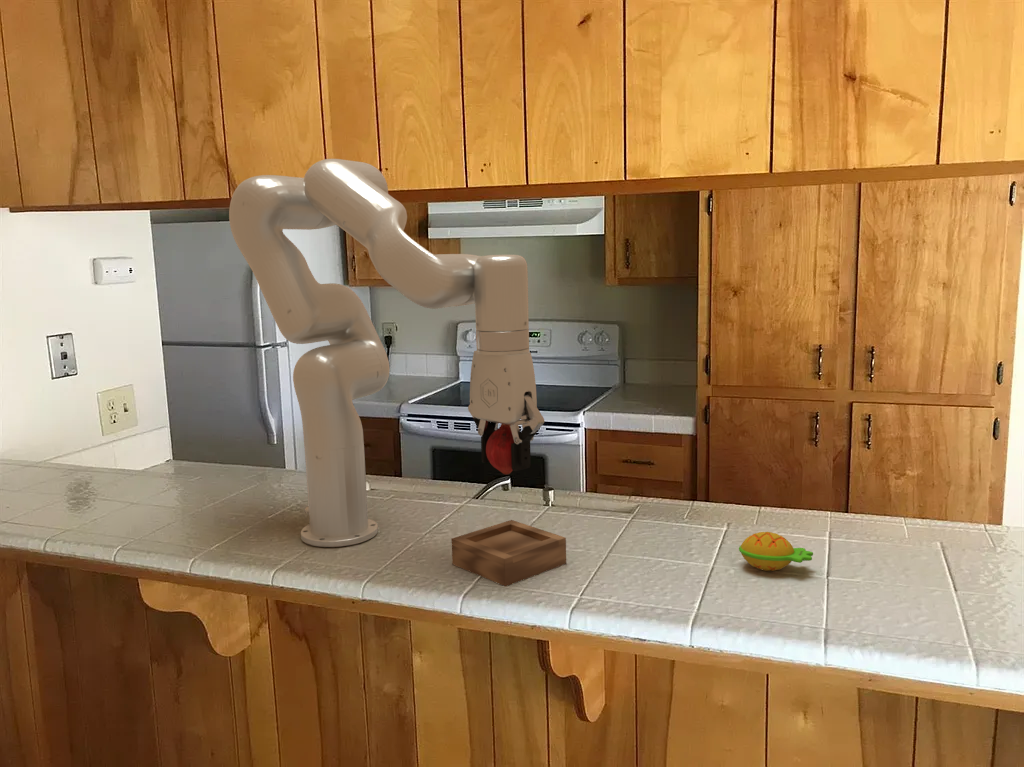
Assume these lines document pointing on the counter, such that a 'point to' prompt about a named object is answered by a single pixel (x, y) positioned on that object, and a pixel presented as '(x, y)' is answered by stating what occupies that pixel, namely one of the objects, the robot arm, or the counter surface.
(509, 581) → the base
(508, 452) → the onion
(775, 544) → the toy pineapple
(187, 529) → the counter surface
